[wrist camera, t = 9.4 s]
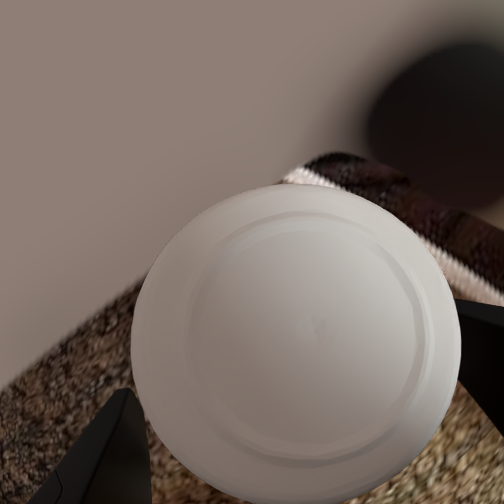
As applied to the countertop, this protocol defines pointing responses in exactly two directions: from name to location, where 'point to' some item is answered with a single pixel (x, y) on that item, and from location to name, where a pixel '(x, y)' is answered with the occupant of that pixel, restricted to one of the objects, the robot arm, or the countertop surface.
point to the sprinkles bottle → (295, 345)
